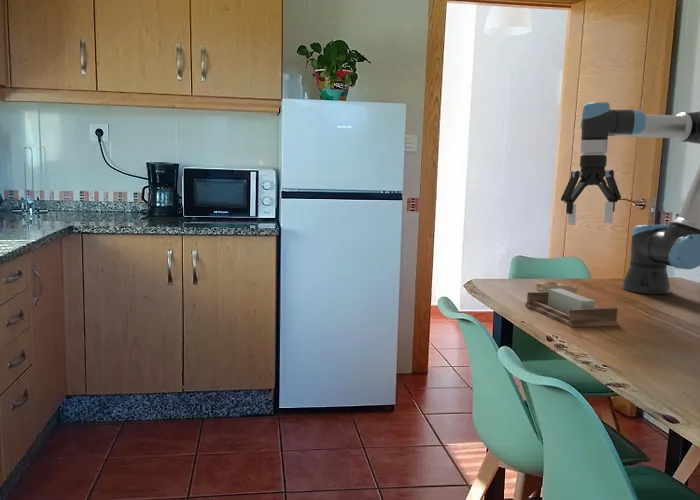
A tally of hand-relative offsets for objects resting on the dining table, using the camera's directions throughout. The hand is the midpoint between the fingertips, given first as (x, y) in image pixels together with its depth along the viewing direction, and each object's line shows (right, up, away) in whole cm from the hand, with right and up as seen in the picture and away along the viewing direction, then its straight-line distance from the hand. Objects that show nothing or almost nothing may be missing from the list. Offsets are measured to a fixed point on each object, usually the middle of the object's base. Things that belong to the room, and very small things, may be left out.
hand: (589, 223), depth 191 cm
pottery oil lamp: (-8, -24, +8) cm, 26 cm away
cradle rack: (-12, -27, -14) cm, 33 cm away
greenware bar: (-12, -26, -15) cm, 32 cm away
